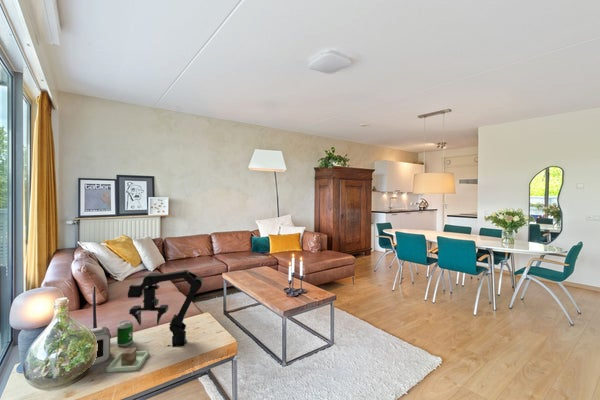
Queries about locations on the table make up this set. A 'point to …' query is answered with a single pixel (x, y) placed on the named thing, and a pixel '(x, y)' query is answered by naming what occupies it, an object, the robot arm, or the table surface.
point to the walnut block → (128, 356)
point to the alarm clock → (102, 344)
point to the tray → (117, 367)
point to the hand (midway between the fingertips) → (149, 324)
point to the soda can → (124, 333)
